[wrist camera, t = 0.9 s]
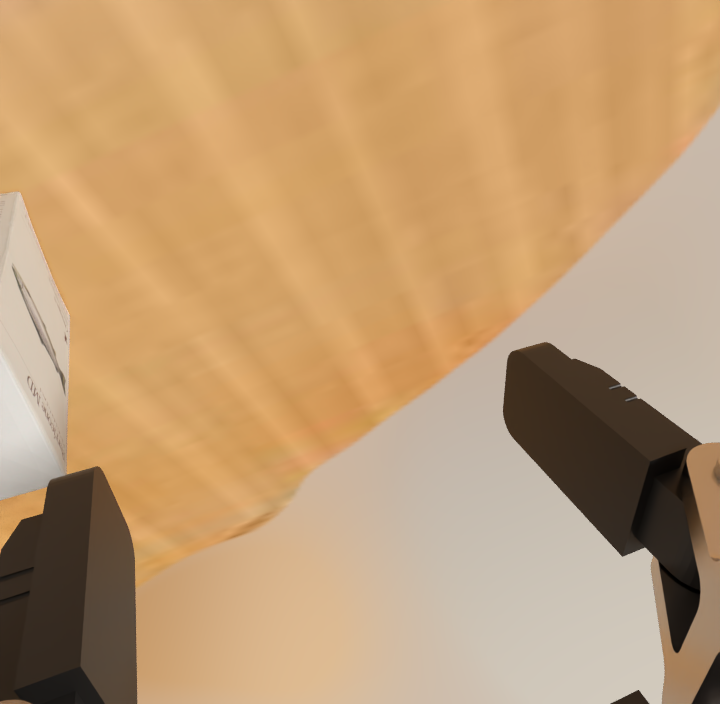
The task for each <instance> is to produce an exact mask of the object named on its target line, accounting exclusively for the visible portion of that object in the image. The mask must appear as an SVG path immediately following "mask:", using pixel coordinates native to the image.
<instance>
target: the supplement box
mask: <svg viewBox="0 0 720 704" xmlns="http://www.w3.org/2000/svg"><path fill="white" fill-rule="evenodd" d="M69 342H70V315H69V313H68V311H67V309H66V306H65V304H64V302H63V300H62V298H61V296H60V293H59V291H58V289H57V287H56V284H55V282H54V280H53V277H52V275H51V273H50V270H49V268H48V265H47V263H46V260H45V257H44V255H43V252H42V250H41V247H40V245H39V242H38V239H37V237H36V234H35V232H34V229H33V226H32V224H31V221H30V218H29V215H28V212H27V210H26V207H25V204H24V201H23V198H22V195H21V193H20V192H11V193H5V194H0V500H3V499H7V498H10V497H13V496H17V495H20V494H25V493H28V492H31V491H35V490H38V489H42V488H45V487H48V483H49V481H50V480H51V479H54V478H57V477H61V476H64V475H67V470H66V467H67V418H68V384H69V345H70V344H69Z"/></svg>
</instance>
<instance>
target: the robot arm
mask: <svg viewBox="0 0 720 704" xmlns="http://www.w3.org/2000/svg"><path fill="white" fill-rule="evenodd" d="M503 415H504V420H505V424H506V426H507V429H508V431H509V433H510V434H511V436H512V437H513V438H514V440H515V441H516V442H517V443H518V444H519V445H520V446H521V447H522V448H523V449H524V450H525V451H526V453H527V454H528V455H529V456H530V457H531V458H532V459H533V460H534V461H535V462H536V463H537V464H538V466H539V467H540V468H541V469H542V470H543V471H544V472H545V473H546V474H547V475H548V476H549V478H551V480H552V481H553V482H554V483H555V484H556V485H557V486H558V487H559V488H560V489H561V491H562V492H563V493H564V494H565V495H566V496H567V497H568V498H569V499H570V500H571V501H572V502H573V504H574V505H575V506H576V507H577V508H578V509H579V510H580V511H581V512H582V513H583V514H584V515H585V517H586V518H587V519H588V520H589V521H590V522H591V523H592V524H593V525H594V526H595V527H596V528H597V530H598V531H599V532H600V533H601V534H602V535H603V536H604V537H605V538H606V539H607V540H608V542H609V543H610V544H611V545H612V546H613V547H614V548H615V549H616V550H617V551H618V552H619V553H620V555H621V556H625V555H627V554H630V553H633V552H635V551H637V550H640V549H642V548H644V547H646V548H647V549H648V550H649V552H650V553H652V555H653V559H652V562H651V573H652V581H653V588H654V594H655V601H656V608H657V615H658V622H659V628H660V635H661V642H662V649H663V655H664V664H665V665H664V666H665V676H664V686H663V695H662V704H720V443H706V444H702V443H700V442H699V441H697V440H696V439H695V438H693V437H692V436H691V435H689V434H688V433H687V432H685V431H684V430H683V429H681V428H680V427H678V426H677V425H676V424H674V423H673V422H672V421H670V420H669V419H668V418H666V417H665V416H664V415H662V414H661V413H660V412H658V411H657V410H656V409H654V408H653V407H651V406H650V405H649V404H647V403H646V402H645V401H643V400H642V399H637V396H636V395H635V394H634V393H632V392H631V391H630V390H628V389H627V388H626V387H621V386H620V383H619V382H618V381H616V380H615V379H614V378H612V377H611V376H610V375H608V374H607V373H605V372H604V371H603V370H601V369H600V368H597V367H594V366H592V365H590V364H587V363H585V362H582V361H580V360H577V359H570V358H569V357H568V356H566V355H565V354H564V353H562V352H561V351H560V350H559V349H557V348H556V347H555V346H553V345H552V344H550V343H547V342H544V343H540V344H536V345H533V346H529V347H526V348H522V349H519V350H515V351H512V352H511V353H510V355H509V357H508V360H507V370H506V382H505V393H504V405H503ZM135 605H136V604H135V557H134V549H133V543H132V539H131V535H130V532H129V529H128V526H127V523H126V521H125V519H124V517H123V515H122V512H121V510H120V508H119V506H118V503H117V501H116V499H115V497H114V495H113V492H112V490H111V488H110V486H109V484H108V481H107V479H106V477H105V475H104V473H103V471H102V470H101V468H100V467H98V466H97V467H93V468H89V469H86V470H82V471H79V472H75V473H72V474H68V475H64V476H61V477H57V478H54V479H51V480H50V481H49V483H48V487H47V492H46V498H45V504H44V510H43V514H40V515H37V516H33V517H30V518H26V519H23V520H21V522H20V523H19V524H18V526H17V527H16V529H15V530H14V532H13V533H12V535H11V536H10V538H9V539H8V541H7V542H6V543H5V545H4V546H3V548H2V549H1V554H0V704H137V668H136V667H137V665H136V664H137V663H136V607H135ZM611 704H649V703H648V702H647V700H646V699H645V698H644V697H643V695H642V694H641V692H640V691H639V690H638V691H636V692H633V693H631V694H629V695H628V696H625V697H623V698H622V699H619V700H618V701H616V702H613V703H611Z"/></svg>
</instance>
